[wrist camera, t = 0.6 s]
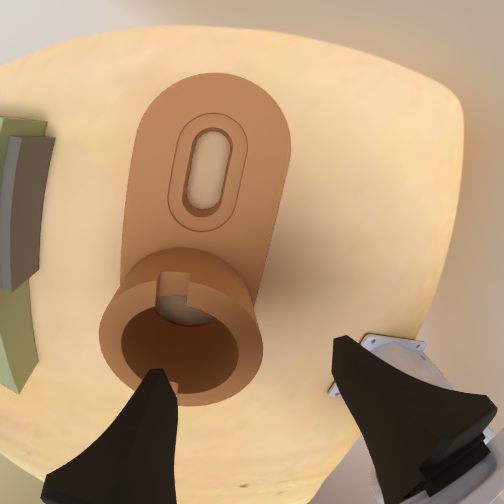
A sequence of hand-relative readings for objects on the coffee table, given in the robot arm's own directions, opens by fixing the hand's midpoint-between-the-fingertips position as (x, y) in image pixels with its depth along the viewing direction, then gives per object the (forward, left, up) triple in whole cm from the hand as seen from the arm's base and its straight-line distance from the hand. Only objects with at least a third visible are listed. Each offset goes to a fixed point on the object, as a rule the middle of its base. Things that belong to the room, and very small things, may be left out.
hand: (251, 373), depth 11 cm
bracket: (+4, -3, -9) cm, 10 cm away
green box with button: (+21, +4, -9) cm, 23 cm away
